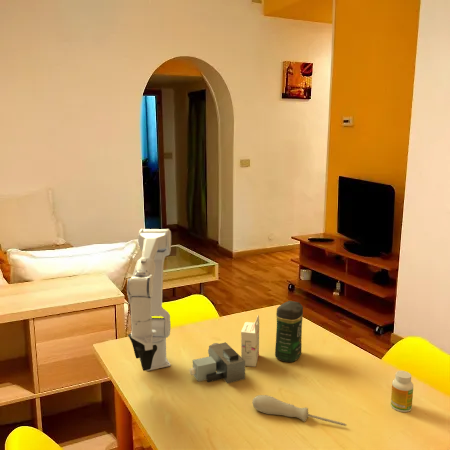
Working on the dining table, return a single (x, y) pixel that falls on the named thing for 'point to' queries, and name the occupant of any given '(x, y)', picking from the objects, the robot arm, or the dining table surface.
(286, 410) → the screwdriver
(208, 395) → the dining table surface
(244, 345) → the ink cartridge box
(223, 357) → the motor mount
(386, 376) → the dining table surface
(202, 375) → the grey block
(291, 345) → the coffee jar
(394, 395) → the supplement bottle
